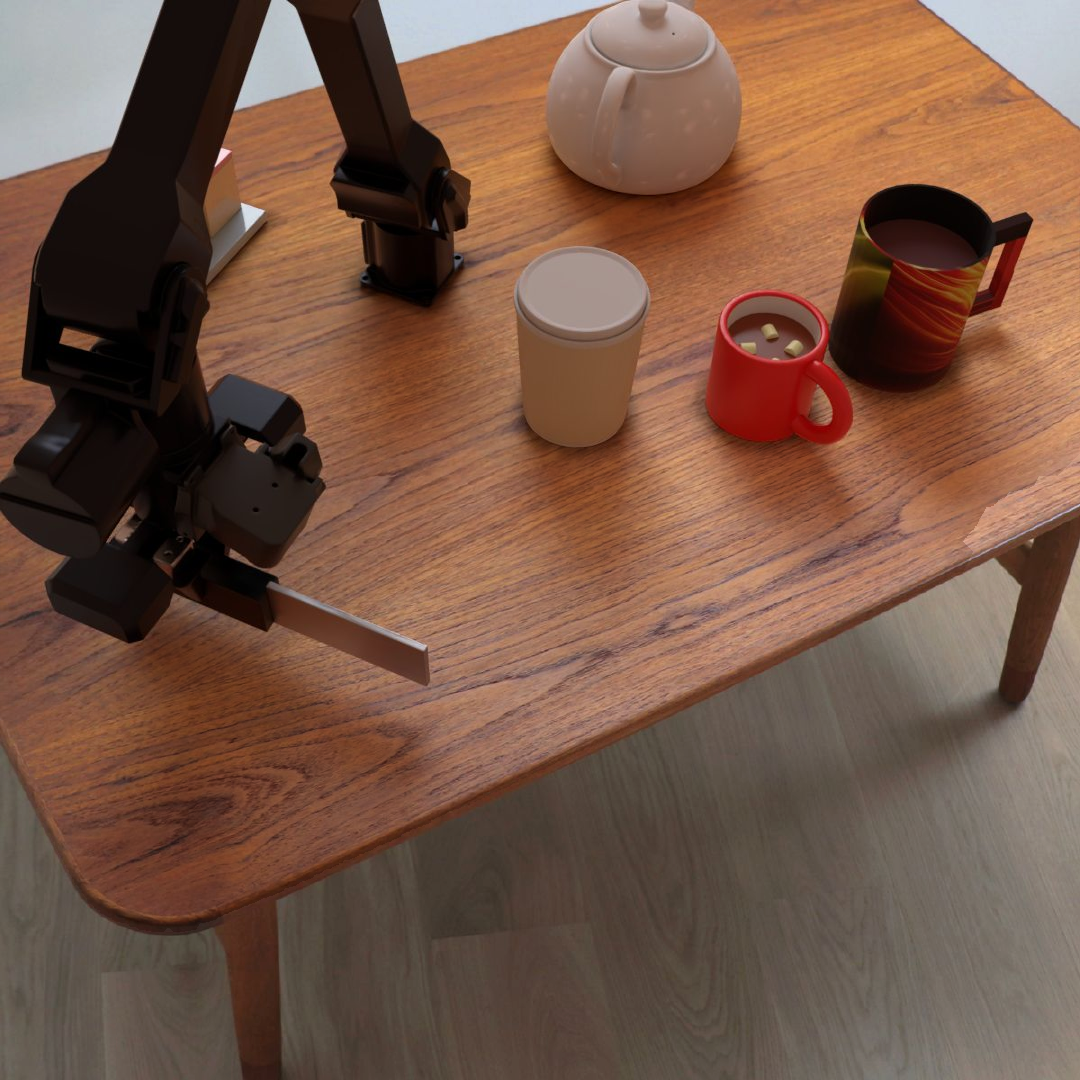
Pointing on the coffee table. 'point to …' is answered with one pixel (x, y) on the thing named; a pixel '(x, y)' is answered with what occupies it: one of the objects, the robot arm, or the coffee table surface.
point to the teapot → (644, 99)
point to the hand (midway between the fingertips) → (206, 583)
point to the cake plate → (234, 237)
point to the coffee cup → (579, 342)
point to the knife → (305, 616)
